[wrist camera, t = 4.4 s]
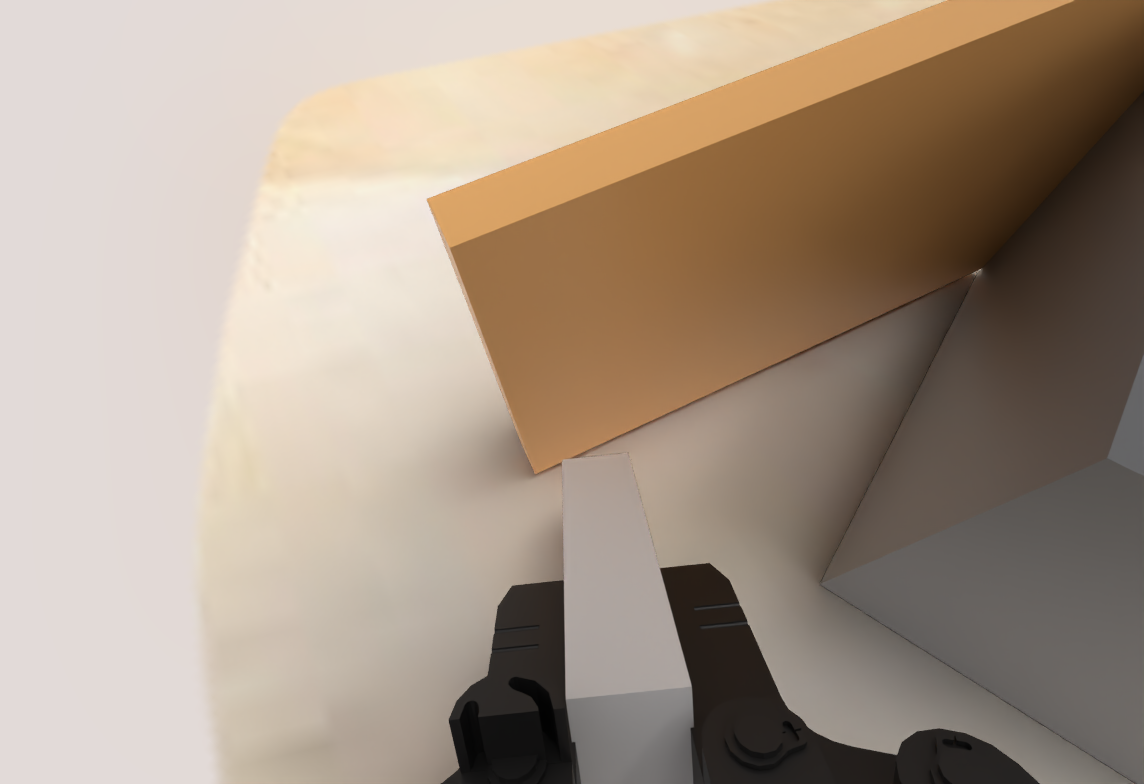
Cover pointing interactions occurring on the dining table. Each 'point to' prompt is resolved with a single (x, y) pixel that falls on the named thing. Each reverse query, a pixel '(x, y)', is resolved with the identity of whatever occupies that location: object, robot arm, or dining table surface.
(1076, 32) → the side door
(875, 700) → the dining table surface
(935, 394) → the block
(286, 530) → the dining table surface
